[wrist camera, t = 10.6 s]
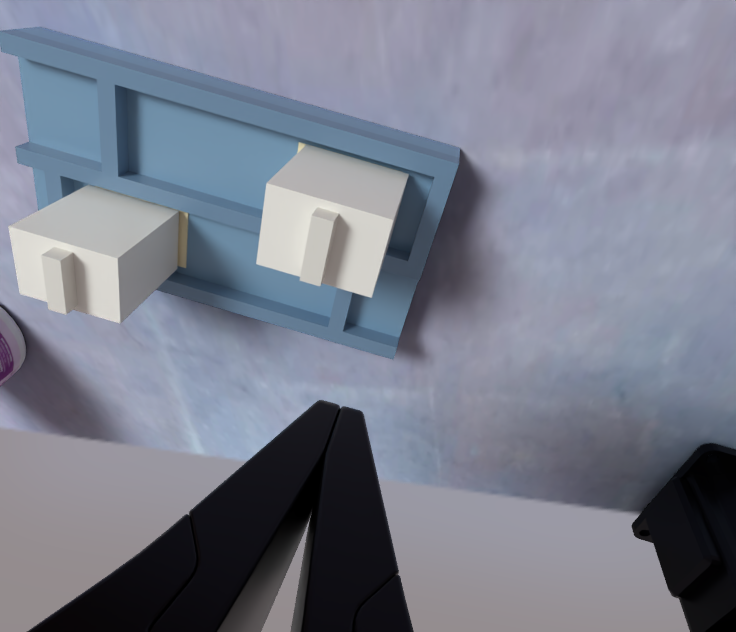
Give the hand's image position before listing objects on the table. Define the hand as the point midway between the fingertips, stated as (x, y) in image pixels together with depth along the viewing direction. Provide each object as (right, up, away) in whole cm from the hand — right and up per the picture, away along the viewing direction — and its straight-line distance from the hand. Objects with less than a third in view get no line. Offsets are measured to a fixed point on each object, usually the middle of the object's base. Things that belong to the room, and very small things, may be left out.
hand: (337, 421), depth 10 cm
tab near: (0, +6, +8) cm, 10 cm away
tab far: (-8, +5, +11) cm, 14 cm away
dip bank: (-4, +7, +10) cm, 13 cm away
